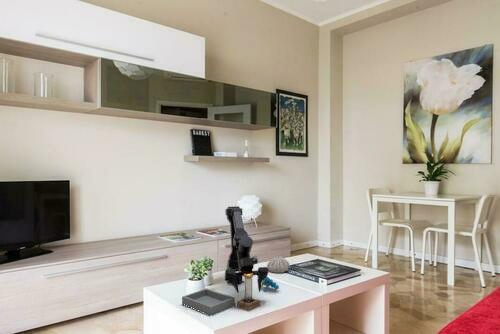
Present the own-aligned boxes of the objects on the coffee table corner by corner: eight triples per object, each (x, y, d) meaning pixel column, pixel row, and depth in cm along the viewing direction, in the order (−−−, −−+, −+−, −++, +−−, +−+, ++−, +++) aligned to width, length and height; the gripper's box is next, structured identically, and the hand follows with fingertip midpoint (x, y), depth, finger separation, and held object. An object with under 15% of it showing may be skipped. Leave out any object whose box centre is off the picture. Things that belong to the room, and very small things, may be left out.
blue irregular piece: (283, 288, 169) (270, 275, 166) (277, 299, 166) (263, 286, 163) (270, 285, 178) (257, 272, 175) (264, 295, 175) (251, 282, 173)
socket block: (236, 307, 150) (236, 301, 150) (247, 302, 155) (247, 296, 155) (249, 311, 145) (249, 305, 145) (260, 306, 151) (260, 300, 151)
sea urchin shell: (293, 273, 199) (293, 259, 199) (269, 274, 196) (269, 260, 196) (286, 267, 212) (286, 253, 212) (264, 268, 209) (264, 254, 209)
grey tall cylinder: (241, 306, 150) (241, 273, 150) (247, 304, 153) (247, 271, 153) (248, 309, 147) (248, 275, 147) (255, 306, 150) (255, 273, 151)
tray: (182, 304, 152) (182, 296, 152) (206, 296, 163) (206, 288, 163) (210, 316, 141) (210, 307, 141) (234, 305, 151) (234, 297, 151)
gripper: (225, 250, 152) (228, 284, 141) (267, 248, 156) (274, 281, 145) (223, 264, 160) (226, 297, 149) (263, 261, 164) (269, 294, 153)
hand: (249, 292), depth 149 cm, fingers open, 9 cm apart
